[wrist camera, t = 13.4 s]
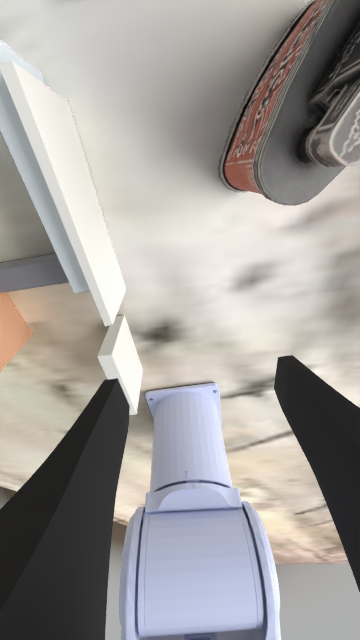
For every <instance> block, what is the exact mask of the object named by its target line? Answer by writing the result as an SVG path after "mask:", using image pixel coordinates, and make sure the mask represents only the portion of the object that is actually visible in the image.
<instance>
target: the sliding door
mask: <svg viewBox="0 0 360 640" xmlns="http://www.w3.org/2000/svg"><path fill="white" fill-rule="evenodd" d="M10 61H13V62H14V63H16V64H17V65H18V66H20V67H21V68H23V69H24V70H25V71H27V72H28V73H30V74H31V75H32V76H34V77H35V78H37V79H38V80H39V81H41V82H42V83H44V80H43V77H42V74H41V71H39V70H38V69H37V68H36V67H34V66H33V65H32V64H31V63H29V62H28V61H27V60H25V59H24V58H23V57H22V56H20V55H19V54H18V53H17V52H15V51H14V50H13V49H12V48H10V47H9V46H8V45H6V44H5V43H4V42H3V41H1V40H0V63H5V62H10ZM44 84H45V83H44ZM0 131H1V133H2V135H3V137H4V140H5V142H6V144H7V146H8V148H9V151H10V153H11V155H12V157H13V160H14V162H15V164H16V166H17V168H18V171H19V173H20V175H21V177H22V179H23V182H24V184H25V186H26V188H27V190H28V193H29V195H30V197H31V199H32V201H33V204H34V206H35V208H36V210H37V212H38V215H39V217H40V219H41V221H42V223H43V226H44V228H45V230H46V232H47V234H48V237H49V239H50V241H51V243H52V245H53V248H54V250H55V252H56V254H50V255H43V256H37V257H31V258H25V259H18V260H12V261H6V262H0V293H3V292H9V291H16V290H22V289H29V288H35V287H42V286H48V285H55V284H61V283H68V282H69V283H70V285H71V287H72V290H73V292H74V293H80V292H87V291H90V289H89V286H88V284H87V281H86V279H85V277H84V274H83V272H82V269H81V267H80V264H79V262H78V259H77V257H76V254H75V252H74V249H73V247H72V245H71V242H70V240H69V237H68V235H67V232H66V230H65V227H64V225H63V222H62V220H61V217H60V215H59V212H58V210H57V208H56V205H55V203H54V200H53V198H52V195H51V193H50V190H49V188H48V185H47V183H46V180H45V178H44V176H43V173H42V171H41V168H40V166H39V163H38V161H37V158H36V156H35V153H34V151H33V148H32V146H31V144H30V141H29V139H28V136H27V134H26V131H25V129H24V126H23V124H22V121H21V119H20V116H19V114H18V112H17V109H16V107H15V104H14V102H13V99H12V97H11V94H10V92H9V89H8V87H7V84H6V82H5V80H4V77H3V75H2V72H1V70H0Z"/></svg>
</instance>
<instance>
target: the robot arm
mask: <svg viewBox="0 0 360 640" xmlns="http://www.w3.org/2000/svg"><path fill="white" fill-rule="evenodd" d="M274 389H275V392H276V395H277V398H278V400H279V403H280V406H281V408H282V411H283V413H284V415H285V417H286V419H287V421H288V423H289V425H290V427H291V428H292V430H293V432H294V434H295V436H296V438H297V440H298V442H299V444H300V446H301V448H302V450H303V452H304V454H305V456H306V458H307V460H308V462H309V464H310V466H311V468H312V470H313V472H314V474H315V476H316V479H317V481H318V484H319V486H320V489H321V491H322V493H323V496H324V498H325V501H326V503H327V506H328V508H329V511H330V513H331V516H332V518H333V521H334V524H335V526H336V529H337V531H338V534H339V537H340V539H341V542H342V545H343V547H344V550H345V553H346V555H347V558H348V561H349V564H350V566H351V569H352V571H353V575H354V577H355V580H356V583H357V586H358V589H359V592H360V408H359V407H357V406H356V405H355V404H353V403H352V402H351V401H349V400H348V399H347V398H345V397H344V396H343V395H341V394H340V393H339V392H337V391H336V390H335V389H333V388H332V387H331V386H330V385H328V384H327V383H326V382H324V381H323V380H322V379H321V378H319V377H318V376H317V375H316V374H315V373H313V372H312V371H311V370H310V369H308V368H307V367H306V366H305V365H304V364H302V363H301V362H300V361H299V360H297V359H296V358H295V357H294V356H292V355H291V356H284V357H278V362H277V370H276V377H275V385H274ZM145 397H146V400H147V403H148V406H149V408H150V411H151V414H152V417H153V420H154V434H153V450H152V466H151V482H150V492H148V493H146V502H145V506H144V507H138V508H137V509H136V511H135V513H134V514H133V515H132V517H131V518H130V520H129V523H128V527H127V531H126V537H125V543H124V549H123V556H122V566H121V577H120V592H119V617H120V624H121V640H281V634H280V622H279V611H280V595H279V586H278V579H277V573H276V568H275V563H274V559H273V554H272V550H271V547H270V543H269V540H268V536H267V533H266V530H265V528H264V525H263V523H262V520H261V518H260V516H259V515H258V513H257V512H256V511H255V510H254V509H253V508H252V506H251V505H250V504H249V503H248V502H246V501H241V498H240V493H239V489H238V488H233V486H232V481H231V476H230V471H229V466H228V461H227V456H226V451H225V446H224V441H223V436H222V424H221V410H220V396H219V386H218V384H217V383H208V384H200V385H193V386H185V387H177V388H169V389H161V390H154V391H148V392H146V394H145ZM129 411H130V405H129V403H128V401H127V399H126V396H125V394H124V392H123V389H122V387H121V385H120V382H119V380H118V378H116V379H109V380H104V382H103V383H102V384H101V386H100V387H99V389H98V390H97V392H96V393H95V395H94V396H93V397H92V399H91V400H90V402H89V403H88V405H87V406H86V408H85V409H84V411H83V412H82V413H81V415H80V416H79V417H78V419H77V420H76V422H75V423H74V424H73V426H72V427H71V429H70V430H69V431H68V432H67V434H66V435H65V436H64V438H63V439H62V440H61V442H60V443H59V444H58V445H57V447H56V448H55V449H54V450H53V452H52V453H51V454H50V455H49V457H48V458H47V459H46V460H45V461H44V463H43V464H42V465H41V466H40V467H39V468H38V470H37V471H36V472H35V473H34V474H33V475H32V476H31V478H30V479H29V480H28V481H27V482H26V483H25V484H24V485H23V486H22V487H21V488H20V489H19V490H18V492H17V493H16V494H15V495H14V496H13V497H12V498H11V499H10V500H9V501H8V502H7V503H6V504H5V505H4V506H3V507H2V508H1V509H0V640H105V624H106V605H107V587H108V573H109V559H110V547H111V535H112V525H113V516H114V506H115V497H116V491H117V484H118V479H119V474H120V469H121V464H122V458H123V453H124V448H125V443H126V438H127V432H128V424H129Z"/></svg>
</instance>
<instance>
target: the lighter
mask: <svg viewBox="0 0 360 640" xmlns="http://www.w3.org/2000/svg"><path fill="white" fill-rule="evenodd" d="M358 163H360V0H311V1H310V2H309V3H308V4H307V5H306V6H305V7H304V8H303V9H302V10H301V11H300V13H299V14H298V15H297V16H296V18H295V19H294V20H293V22H292V23H291V24H290V26H289V27H288V29H287V30H286V32H285V33H284V34H283V36H282V37H281V39H280V40H279V41H278V43H277V44H276V46H275V47H274V48H273V50H272V51H271V53H270V54H269V56H268V57H267V59H266V61H265V62H264V64H263V66H262V67H261V69H260V71H259V73H258V74H257V76H256V78H255V79H254V81H253V83H252V85H251V86H250V88H249V90H248V91H247V93H246V95H245V98H244V100H243V102H242V104H241V107H240V109H239V111H238V113H237V115H236V118H235V120H234V122H233V124H232V127H231V129H230V132H229V134H228V137H227V140H226V143H225V146H224V149H223V152H222V155H221V158H220V161H219V167H218V170H219V177H220V179H221V181H222V183H223V184H224V185H225V186H226V187H227V188H228V189H231V190H233V191H236V192H248V191H251V192H255V193H259V194H262V195H263V196H264V197H265V198H267V199H269V200H271V201H273V202H275V203H279V204H282V205H299V204H302V203H305V202H308V201H309V200H311V199H312V198H314V197H315V196H316V195H318V194H319V193H320V192H321V191H322V190H323V189H324V188H325V187H326V186H327V185H328V184H329V183H330V182H331V181H332V180H333V179H334V178H335V177H336V176H337V175H338V174H339V173H340V172H341V171H342V170H343V169H344V168H345V167H346V166H355V165H357V164H358Z"/></svg>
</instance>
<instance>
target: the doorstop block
mask: <svg viewBox="0 0 360 640" xmlns="http://www.w3.org/2000/svg"><path fill="white" fill-rule="evenodd" d="M32 334H33V333H32V332H31V330H30V329H29V327H28V326H27V324H26V322H25V321H24V319H23V318H22V316H21V315H20V313H19V311H18V310H17V308H16V307H15V305H14V304H13V302H12V301H11V299H10V297H9V296H8V294H7V293H6V292H3V293H0V372H1V370H2V369H3V368H4V367H5V366H6V365H7V363H8V362H9V361H10V360H11V359H12V358H13V356H14V355H15V354H16V353H17V352H18V351H19V349H20V348H21V347H22V346H23V345H24V344H25V342H26V341H27V340H28V339H29V338H30V337H31V335H32Z"/></svg>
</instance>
